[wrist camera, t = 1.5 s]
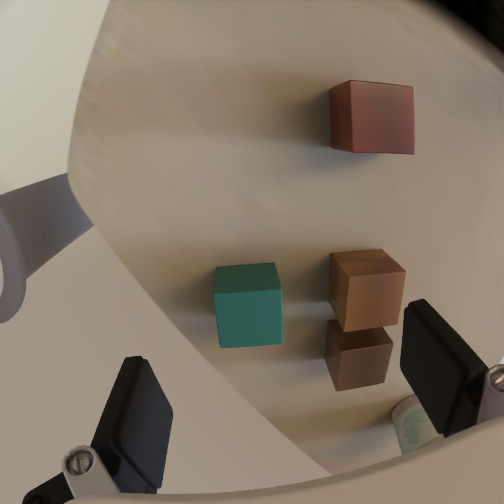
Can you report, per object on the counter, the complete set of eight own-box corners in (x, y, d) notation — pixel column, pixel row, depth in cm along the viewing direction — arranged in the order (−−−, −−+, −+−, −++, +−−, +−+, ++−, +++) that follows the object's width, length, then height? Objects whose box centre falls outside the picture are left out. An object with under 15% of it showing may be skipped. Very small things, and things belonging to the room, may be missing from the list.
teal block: (222, 315, 29) (219, 348, 25) (216, 266, 28) (212, 293, 23) (276, 311, 30) (282, 344, 25) (274, 262, 28) (282, 288, 23)
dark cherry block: (331, 148, 25) (352, 152, 20) (328, 88, 23) (349, 79, 18) (386, 149, 25) (415, 154, 20) (384, 92, 23) (413, 86, 18)
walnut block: (324, 359, 32) (335, 391, 27) (327, 320, 30) (341, 351, 26) (368, 353, 32) (384, 383, 27) (374, 314, 30) (393, 343, 26)
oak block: (328, 302, 29) (343, 332, 25) (330, 252, 28) (348, 276, 23) (377, 297, 30) (397, 324, 25) (382, 249, 28) (406, 271, 23)
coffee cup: (438, 377, 35) (480, 440, 24) (432, 413, 38) (464, 471, 27) (381, 400, 35) (414, 473, 24) (381, 434, 38) (407, 498, 27)
